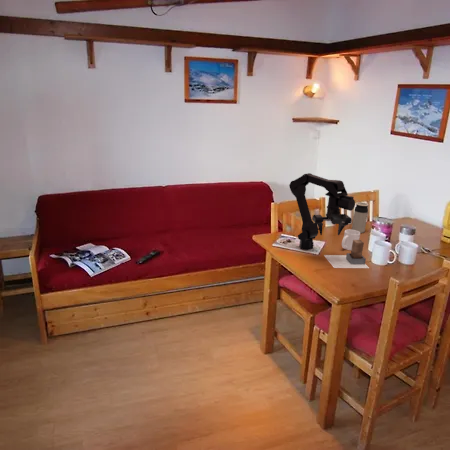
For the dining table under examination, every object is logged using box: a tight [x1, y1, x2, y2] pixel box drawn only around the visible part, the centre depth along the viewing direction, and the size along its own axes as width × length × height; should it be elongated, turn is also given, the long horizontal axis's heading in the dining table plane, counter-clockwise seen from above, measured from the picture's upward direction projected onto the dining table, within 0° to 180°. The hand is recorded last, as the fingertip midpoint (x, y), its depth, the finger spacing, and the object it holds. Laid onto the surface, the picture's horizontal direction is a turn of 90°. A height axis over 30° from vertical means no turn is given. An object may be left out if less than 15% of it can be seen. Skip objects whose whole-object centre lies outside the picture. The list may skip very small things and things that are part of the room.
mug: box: [341, 229, 361, 251], centre depth 222 cm, size 12×8×10 cm
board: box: [323, 254, 370, 269], centre depth 206 cm, size 18×16×1 cm
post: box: [350, 239, 365, 258], centre depth 205 cm, size 4×4×11 cm
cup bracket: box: [345, 252, 367, 264], centre depth 206 cm, size 7×7×3 cm
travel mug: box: [351, 201, 369, 234], centre depth 253 cm, size 8×8×18 cm
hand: (329, 235), depth 207 cm, fingers open, 9 cm apart
